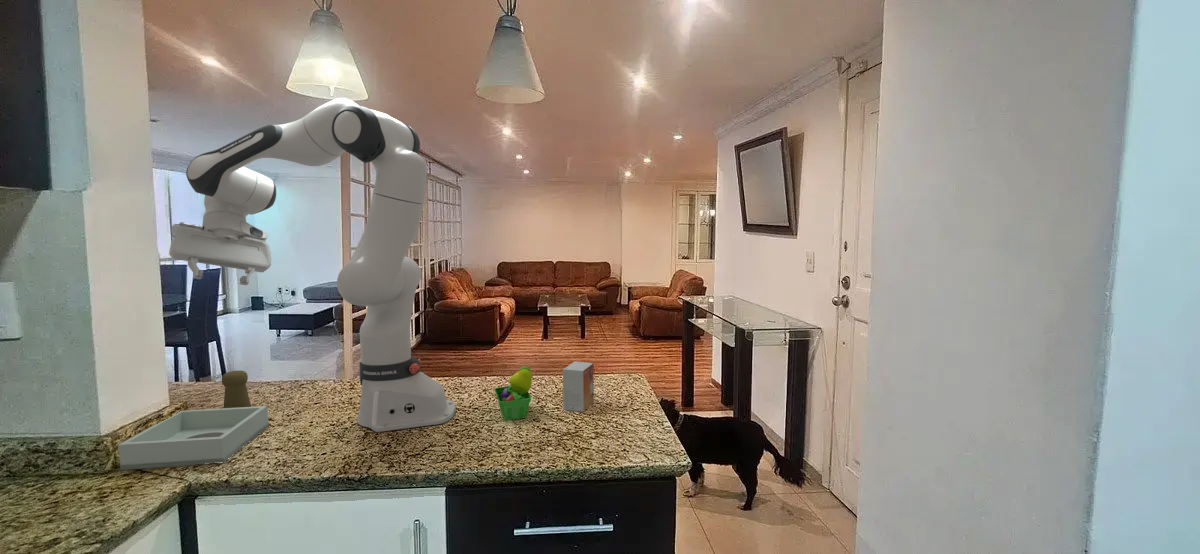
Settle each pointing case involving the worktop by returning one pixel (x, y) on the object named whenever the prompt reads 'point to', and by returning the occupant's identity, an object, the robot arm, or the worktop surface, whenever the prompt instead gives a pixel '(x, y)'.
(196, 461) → the grey square tray
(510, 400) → the fruit basket
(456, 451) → the worktop surface
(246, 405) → the cork
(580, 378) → the small box
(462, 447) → the worktop surface
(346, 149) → the robot arm
